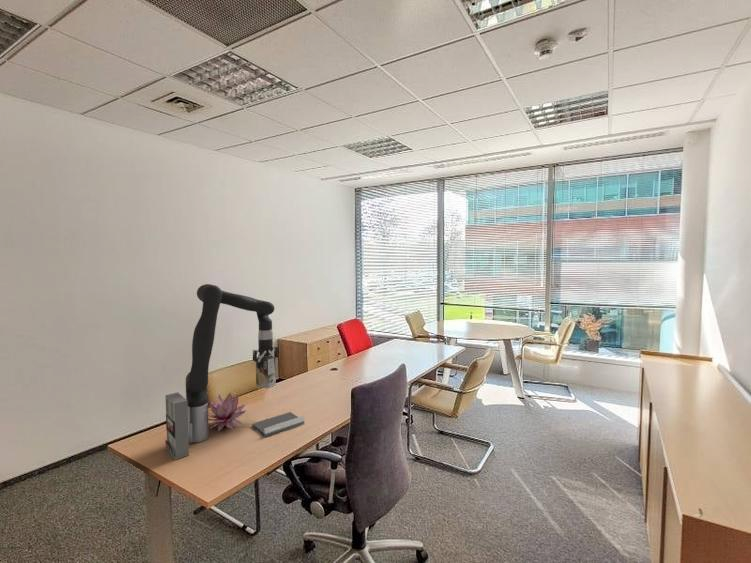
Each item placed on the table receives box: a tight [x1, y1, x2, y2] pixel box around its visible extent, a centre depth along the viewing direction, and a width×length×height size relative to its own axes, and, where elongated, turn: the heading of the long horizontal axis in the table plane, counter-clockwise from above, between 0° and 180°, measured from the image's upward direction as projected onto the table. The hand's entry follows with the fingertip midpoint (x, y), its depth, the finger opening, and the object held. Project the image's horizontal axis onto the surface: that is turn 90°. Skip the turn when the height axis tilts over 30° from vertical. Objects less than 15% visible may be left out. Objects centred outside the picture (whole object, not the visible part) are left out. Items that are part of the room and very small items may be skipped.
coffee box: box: [255, 356, 277, 390], centre depth 201 cm, size 9×6×16 cm
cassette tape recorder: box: [164, 392, 190, 461], centre depth 164 cm, size 14×6×25 cm, turn 44°
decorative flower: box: [208, 392, 247, 432], centre depth 190 cm, size 21×21×15 cm
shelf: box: [252, 411, 305, 438], centre depth 192 cm, size 22×15×4 cm
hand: (265, 367), depth 201 cm, fingers closed on coffee box, 7 cm apart
